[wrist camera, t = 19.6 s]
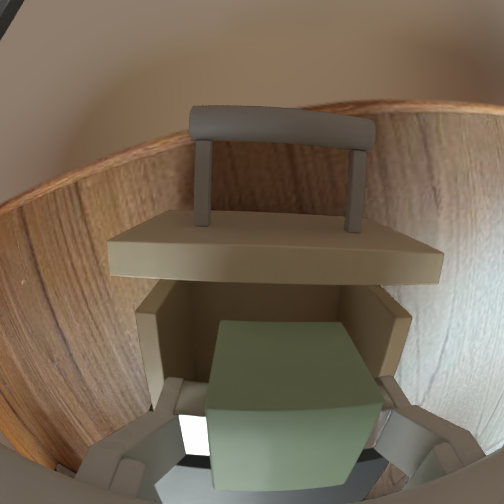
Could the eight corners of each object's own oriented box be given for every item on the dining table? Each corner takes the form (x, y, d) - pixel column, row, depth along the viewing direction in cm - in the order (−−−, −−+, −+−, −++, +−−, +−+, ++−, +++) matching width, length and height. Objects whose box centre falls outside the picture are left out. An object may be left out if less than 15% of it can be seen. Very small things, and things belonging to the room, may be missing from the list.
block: (219, 318, 9) (203, 406, 5) (341, 320, 9) (387, 399, 5) (221, 406, 10) (213, 490, 6) (322, 406, 10) (344, 485, 6)
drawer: (171, 127, 15) (108, 93, 7) (371, 138, 15) (454, 121, 7) (181, 395, 19) (160, 479, 12) (333, 397, 20) (360, 477, 12)
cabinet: (171, 351, 19) (131, 456, 10) (347, 354, 20) (394, 454, 10) (189, 462, 23) (176, 539, 14) (314, 464, 23) (329, 539, 14)
